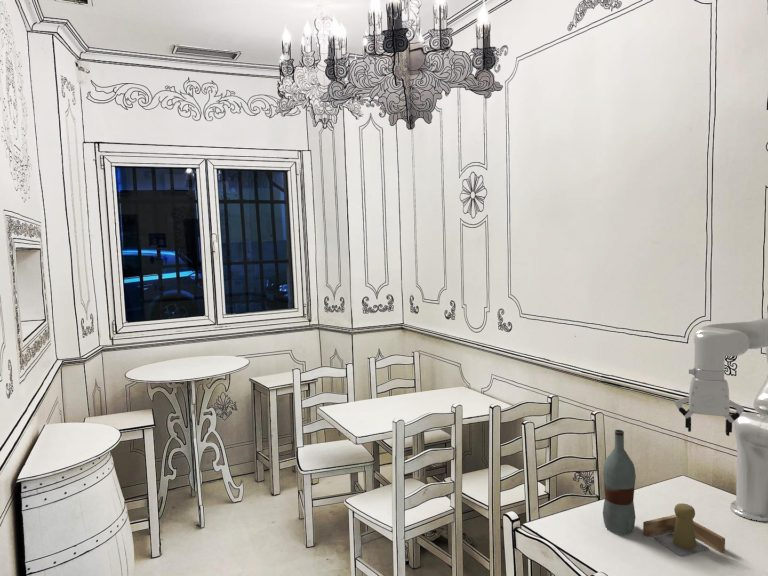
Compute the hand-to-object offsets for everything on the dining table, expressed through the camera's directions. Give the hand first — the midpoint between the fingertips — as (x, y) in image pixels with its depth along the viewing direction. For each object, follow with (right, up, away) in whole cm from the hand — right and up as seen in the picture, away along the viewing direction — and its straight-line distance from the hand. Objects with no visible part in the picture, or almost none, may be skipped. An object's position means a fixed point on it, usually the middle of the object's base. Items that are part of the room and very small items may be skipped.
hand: (708, 432), depth 164 cm
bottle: (-23, -31, +6) cm, 39 cm away
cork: (-9, -31, -4) cm, 32 cm away
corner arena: (-10, -31, -3) cm, 33 cm away
